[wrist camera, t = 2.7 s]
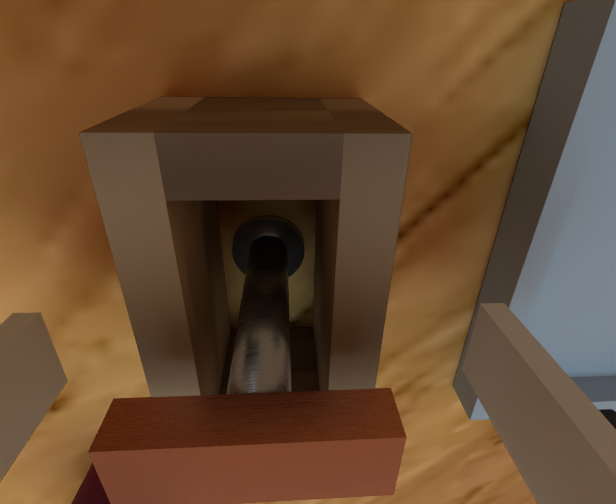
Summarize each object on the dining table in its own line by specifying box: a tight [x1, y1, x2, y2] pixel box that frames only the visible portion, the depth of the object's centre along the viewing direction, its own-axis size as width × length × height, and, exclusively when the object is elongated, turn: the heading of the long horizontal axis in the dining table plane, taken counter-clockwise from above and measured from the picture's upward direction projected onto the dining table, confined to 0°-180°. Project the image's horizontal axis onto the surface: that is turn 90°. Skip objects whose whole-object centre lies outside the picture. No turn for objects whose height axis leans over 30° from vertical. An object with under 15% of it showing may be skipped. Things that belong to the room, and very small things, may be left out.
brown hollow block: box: [79, 97, 413, 397], centre depth 13 cm, size 12×7×6 cm, turn 179°
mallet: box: [88, 216, 406, 504], centre depth 12 cm, size 3×6×10 cm, turn 89°
